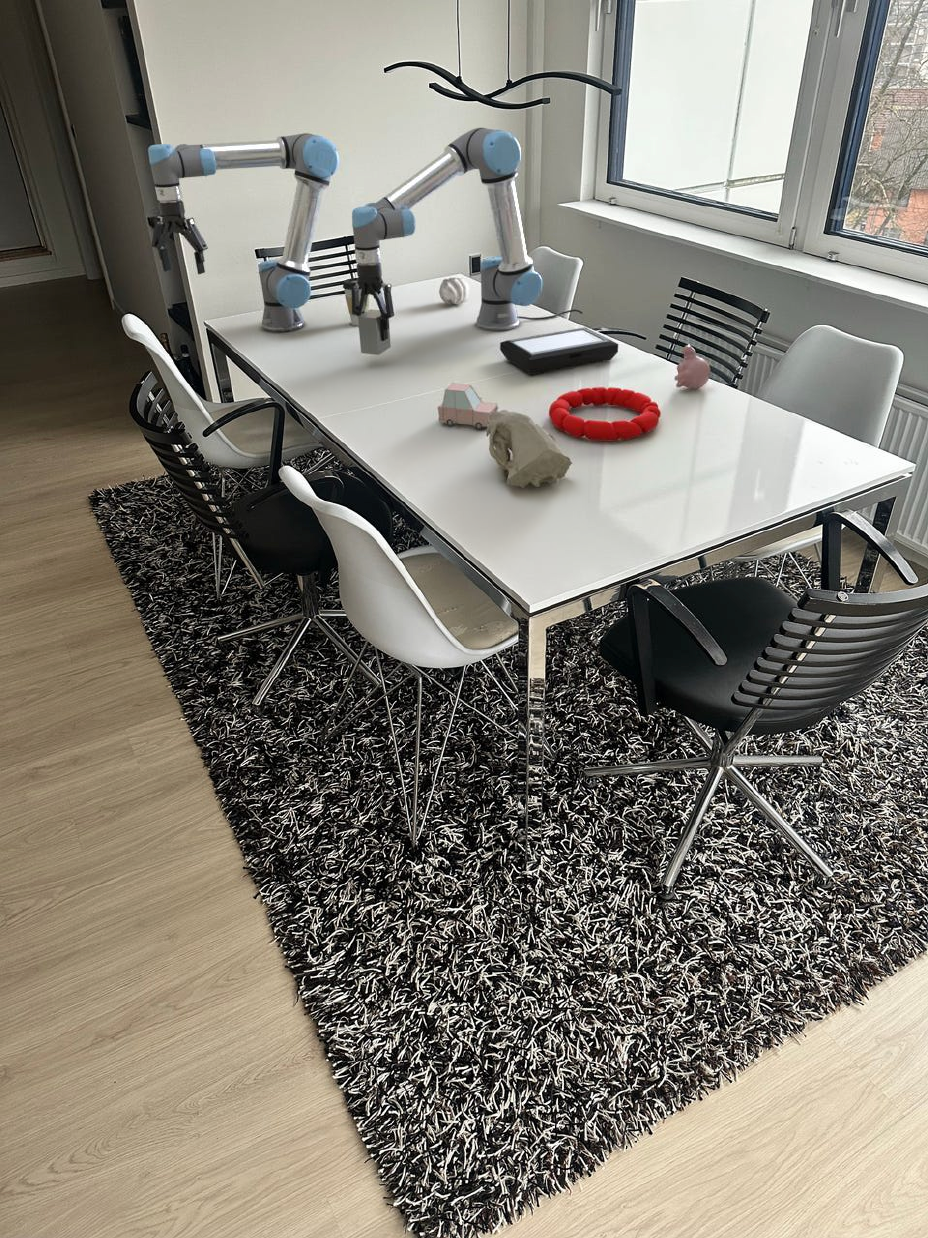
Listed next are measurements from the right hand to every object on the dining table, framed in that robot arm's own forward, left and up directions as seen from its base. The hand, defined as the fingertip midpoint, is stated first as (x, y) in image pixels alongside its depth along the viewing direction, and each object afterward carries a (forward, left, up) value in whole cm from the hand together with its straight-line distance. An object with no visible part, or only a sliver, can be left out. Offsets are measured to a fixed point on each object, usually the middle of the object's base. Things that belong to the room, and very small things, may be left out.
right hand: (375, 338), depth 285 cm
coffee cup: (-22, -41, -8) cm, 48 cm away
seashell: (-63, -35, -8) cm, 72 cm away
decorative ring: (-16, +84, -8) cm, 86 cm away
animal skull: (+22, +91, -8) cm, 94 cm away
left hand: (+36, -54, +18) cm, 67 cm away
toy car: (+12, +59, -8) cm, 61 cm away
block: (0, 0, -4) cm, 4 cm away
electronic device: (-43, +39, -8) cm, 59 cm away
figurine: (-53, +85, -8) cm, 100 cm away
